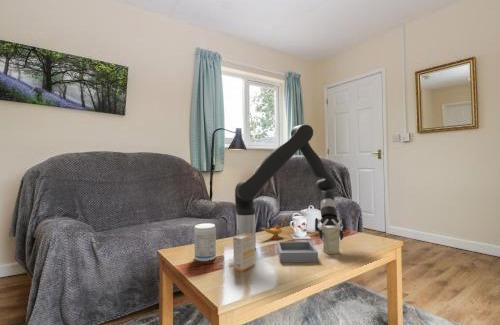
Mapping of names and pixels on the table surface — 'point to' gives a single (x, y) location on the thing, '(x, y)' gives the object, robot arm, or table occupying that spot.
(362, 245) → the table surface
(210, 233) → the supplement tub
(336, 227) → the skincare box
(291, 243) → the bin
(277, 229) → the magic lamp
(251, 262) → the supplement box
